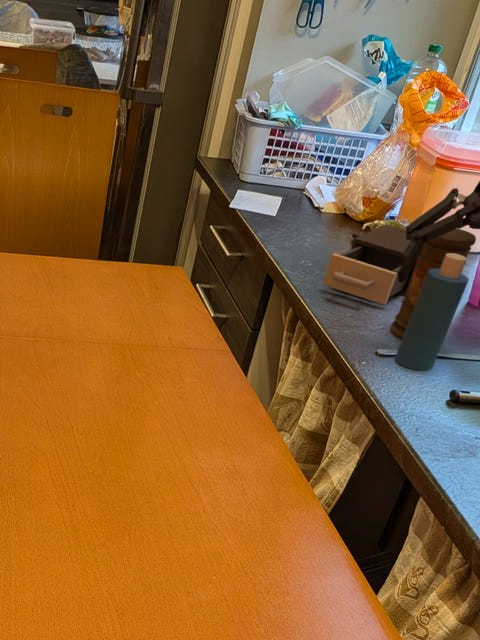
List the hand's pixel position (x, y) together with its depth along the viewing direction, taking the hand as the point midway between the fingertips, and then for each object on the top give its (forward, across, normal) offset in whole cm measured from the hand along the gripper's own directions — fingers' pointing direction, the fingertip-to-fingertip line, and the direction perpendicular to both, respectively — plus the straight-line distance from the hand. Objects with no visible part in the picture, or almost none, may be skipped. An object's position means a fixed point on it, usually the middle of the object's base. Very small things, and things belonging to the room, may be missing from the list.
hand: (439, 289), depth 151 cm
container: (-2, +5, -20) cm, 21 cm away
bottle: (+8, 0, -11) cm, 13 cm away
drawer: (-12, +21, -29) cm, 38 cm away
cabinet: (-21, +21, -39) cm, 49 cm away
